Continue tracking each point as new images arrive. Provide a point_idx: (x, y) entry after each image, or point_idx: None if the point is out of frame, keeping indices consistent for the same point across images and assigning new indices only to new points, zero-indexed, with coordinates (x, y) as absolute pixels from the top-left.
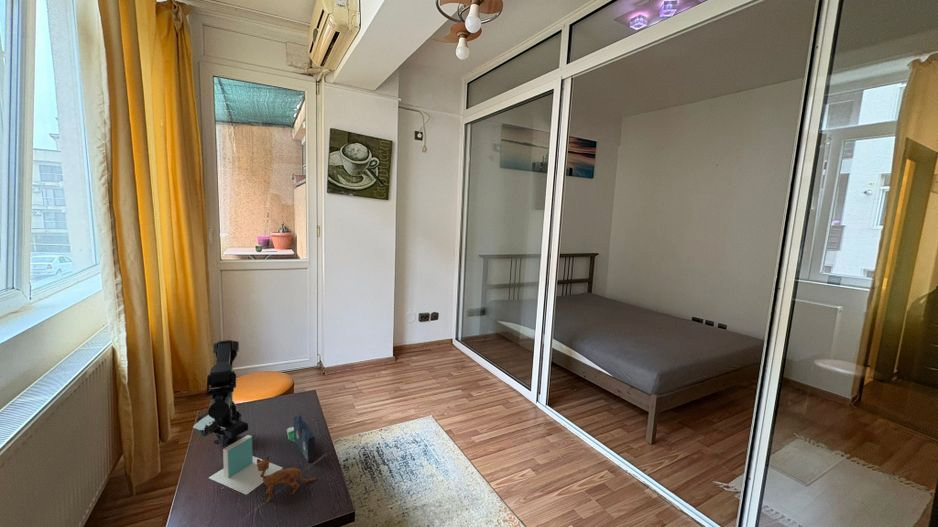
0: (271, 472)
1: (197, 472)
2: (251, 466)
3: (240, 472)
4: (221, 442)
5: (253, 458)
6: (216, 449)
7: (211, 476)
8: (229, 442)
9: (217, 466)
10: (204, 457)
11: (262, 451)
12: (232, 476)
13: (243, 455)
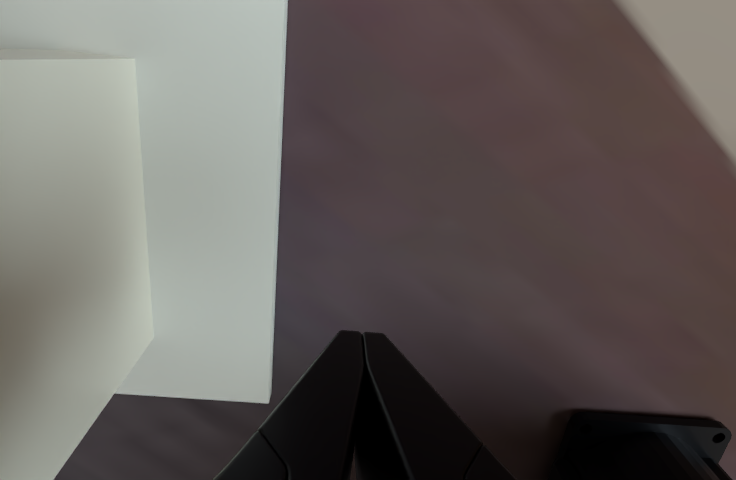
0: None
1: (520, 35)
2: None
3: None
4: (332, 384)
5: (145, 376)
6: (623, 364)
7: (274, 9)
8: (568, 460)
9: (396, 186)
10: (646, 246)
11: (197, 466)
12: None
13: None
